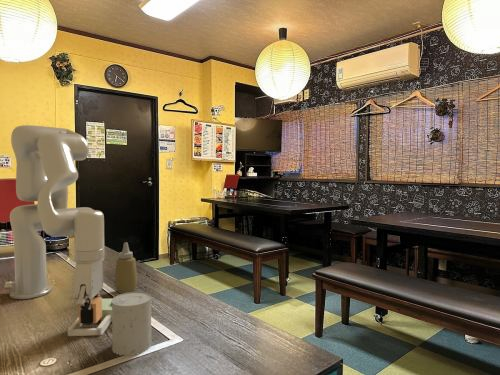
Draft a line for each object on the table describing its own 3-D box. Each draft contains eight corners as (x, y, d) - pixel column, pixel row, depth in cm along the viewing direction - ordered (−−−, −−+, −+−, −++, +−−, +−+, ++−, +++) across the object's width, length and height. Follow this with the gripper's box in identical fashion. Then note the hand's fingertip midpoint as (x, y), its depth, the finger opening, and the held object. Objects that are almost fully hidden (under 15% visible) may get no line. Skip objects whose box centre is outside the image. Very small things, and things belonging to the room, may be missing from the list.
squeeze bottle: (130, 296, 121) (129, 245, 120) (109, 294, 123) (109, 244, 122) (142, 288, 129) (141, 241, 128) (122, 286, 131) (121, 239, 130)
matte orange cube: (79, 323, 95) (78, 303, 95) (85, 316, 100) (85, 297, 99) (96, 323, 95) (96, 303, 95) (102, 315, 100) (101, 297, 100)
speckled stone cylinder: (118, 337, 93) (117, 292, 92) (154, 336, 93) (154, 291, 93) (106, 356, 83) (106, 306, 82) (147, 355, 84) (147, 305, 83)
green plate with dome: (67, 336, 93) (67, 322, 93) (92, 308, 111) (92, 297, 110) (126, 334, 94) (126, 320, 94) (141, 307, 112) (141, 296, 112)
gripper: (87, 247, 105) (88, 306, 106) (61, 263, 88) (63, 333, 89) (113, 247, 105) (113, 306, 106) (92, 263, 88) (93, 332, 89)
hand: (90, 318), depth 98 cm, fingers closed on matte orange cube, 4 cm apart
